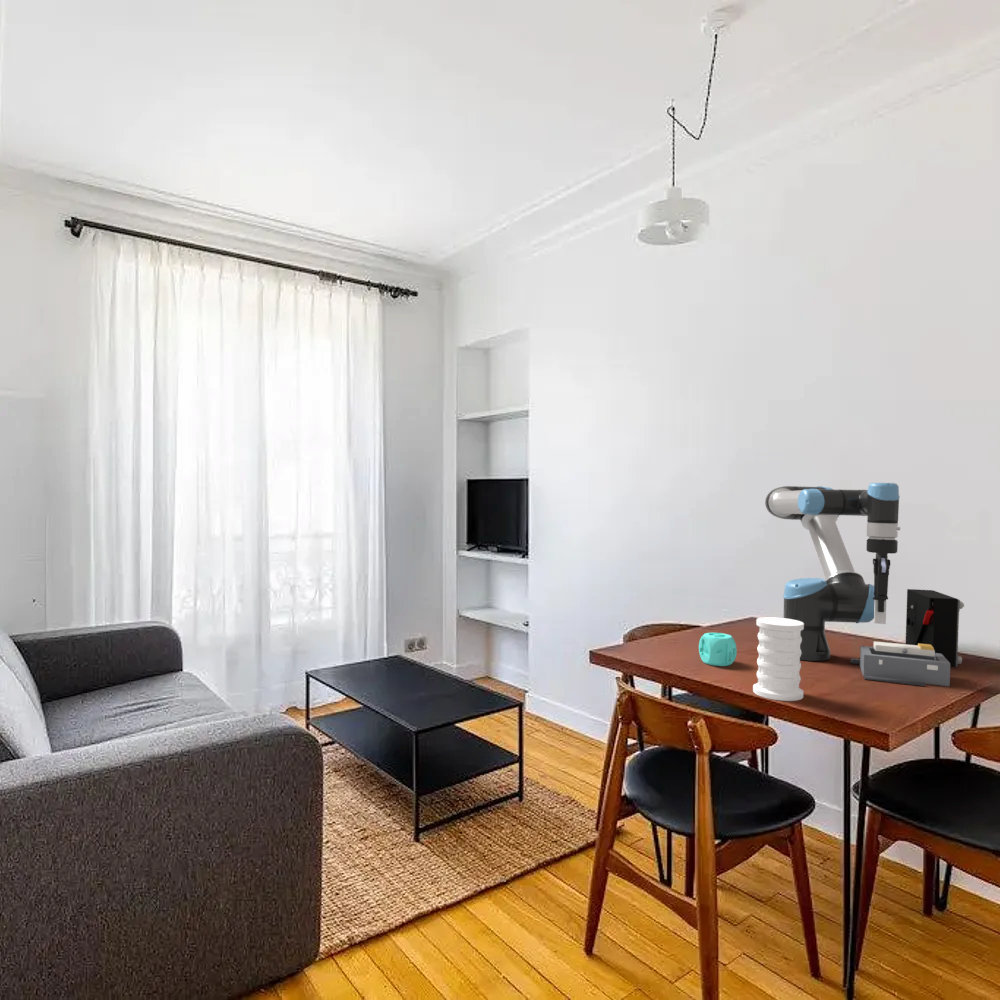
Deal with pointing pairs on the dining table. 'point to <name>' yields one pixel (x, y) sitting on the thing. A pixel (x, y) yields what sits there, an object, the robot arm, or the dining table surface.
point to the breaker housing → (905, 666)
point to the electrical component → (934, 622)
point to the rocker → (905, 648)
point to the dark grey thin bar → (894, 680)
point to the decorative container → (779, 659)
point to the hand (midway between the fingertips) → (879, 623)
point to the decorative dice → (717, 649)
